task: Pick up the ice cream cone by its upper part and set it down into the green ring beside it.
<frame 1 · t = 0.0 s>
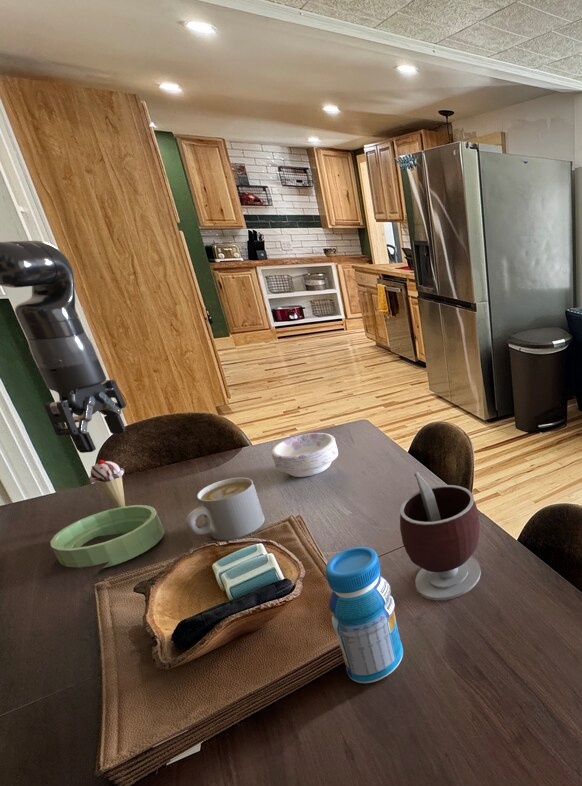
hand: (104, 441, 91), 25 cm above the table, tool pointing down, fingers open, 8 cm apart
paper bowls: (310, 469, 132), on the table
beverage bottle: (376, 663, 75), on the table
ice cream cone: (126, 517, 111), on the table
coffee mug: (230, 531, 106), on the table
mate gourd: (447, 575, 93), on the table
green ring: (117, 549, 100), on the table
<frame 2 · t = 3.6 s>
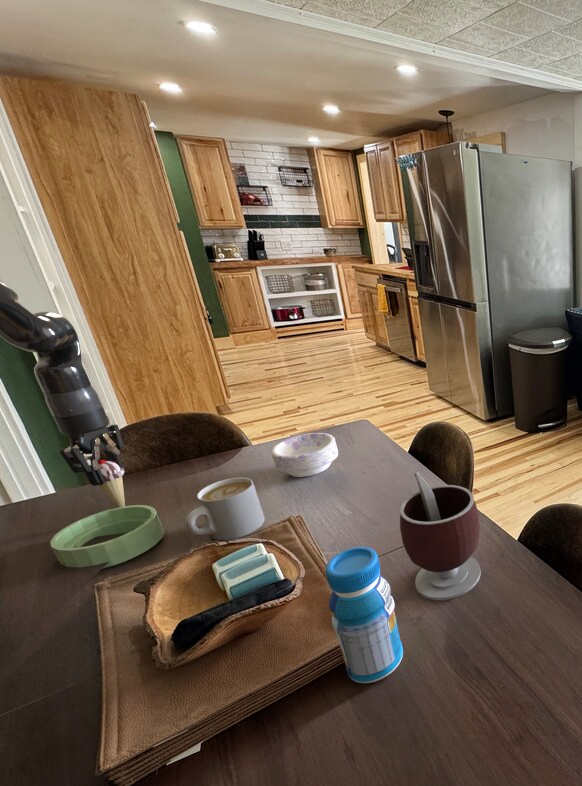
hand: (108, 477, 107), 11 cm above the table, tool pointing down, fingers closed on ice cream cone, 5 cm apart
ice cream cone: (126, 517, 111), on the table, touching gripper
everything else where it was.
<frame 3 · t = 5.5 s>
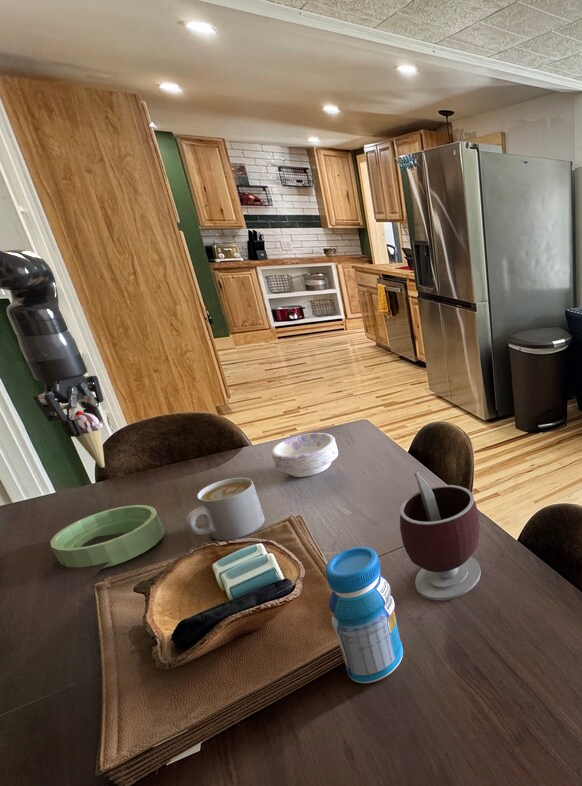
hand: (86, 429, 102), 22 cm above the table, tool pointing down, fingers closed on ice cream cone, 5 cm apart
ice cream cone: (105, 473, 106), point 12 cm above the table, touching gripper
everything else where it was.
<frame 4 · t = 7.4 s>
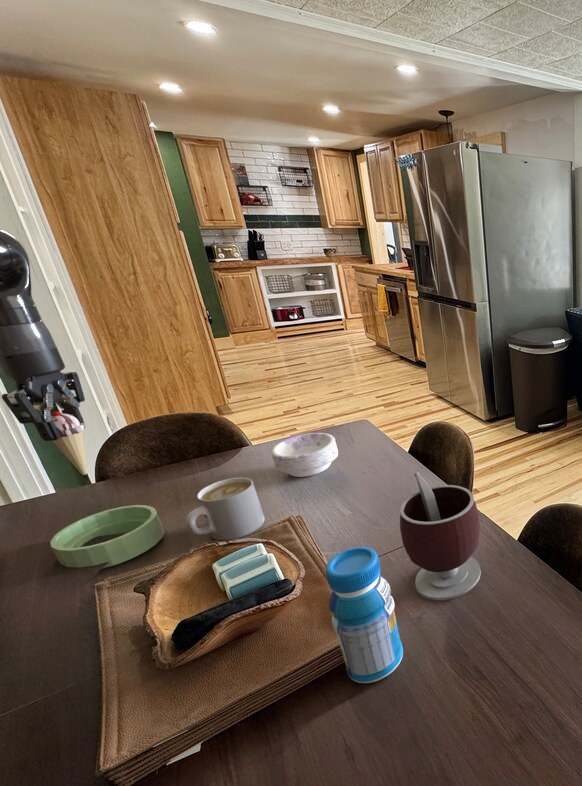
hand: (65, 432, 91), 26 cm above the table, tool pointing down, fingers closed on ice cream cone, 5 cm apart
ice cream cone: (88, 481, 95), point 16 cm above the table, touching gripper
everything else where it was.
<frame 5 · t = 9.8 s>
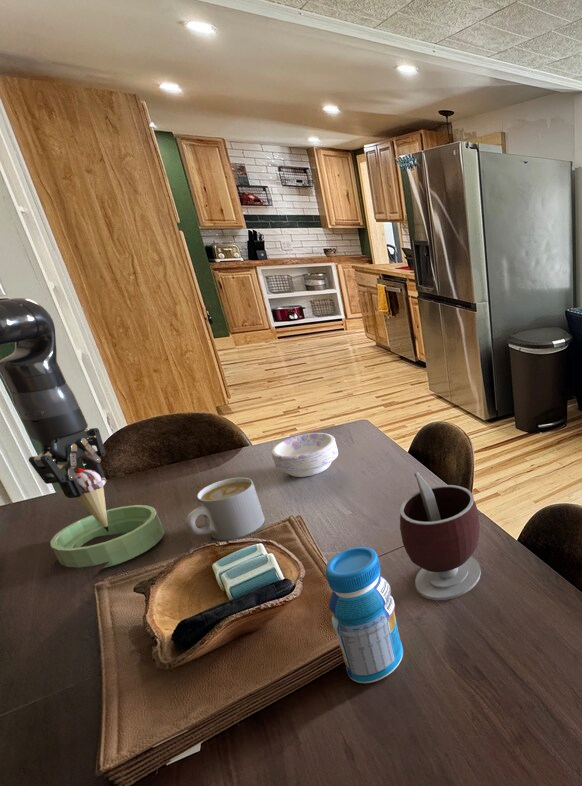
hand: (87, 488, 94), 15 cm above the table, tool pointing down, fingers closed on ice cream cone, 5 cm apart
ice cream cone: (108, 532, 98), point 4 cm above the table, touching gripper
everything else where it was.
when the fingers open (11 cm above the table, at t = 11.3 s): ice cream cone stays where it is, resting on green ring.
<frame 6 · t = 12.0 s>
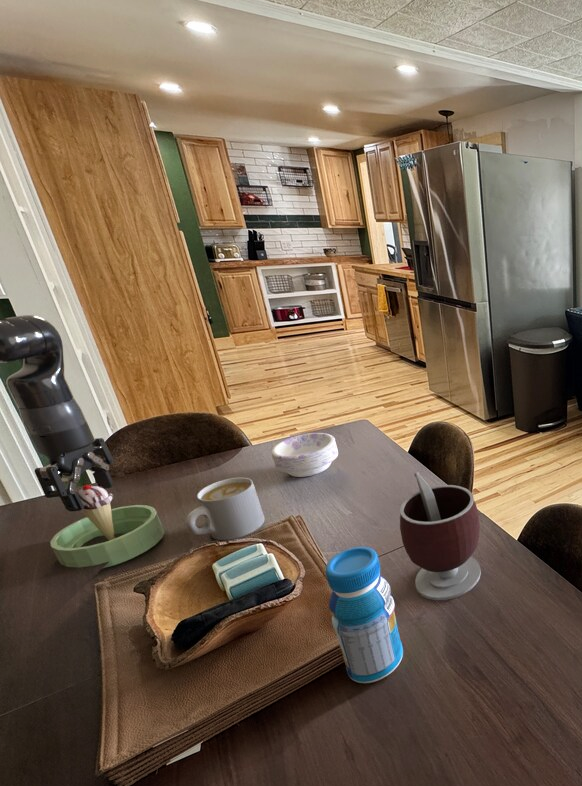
hand: (92, 498, 95), 13 cm above the table, tool pointing down, fingers open, 8 cm apart
ice cream cone: (115, 547, 100), point 1 cm above the table, touching green ring
everything else where it was.
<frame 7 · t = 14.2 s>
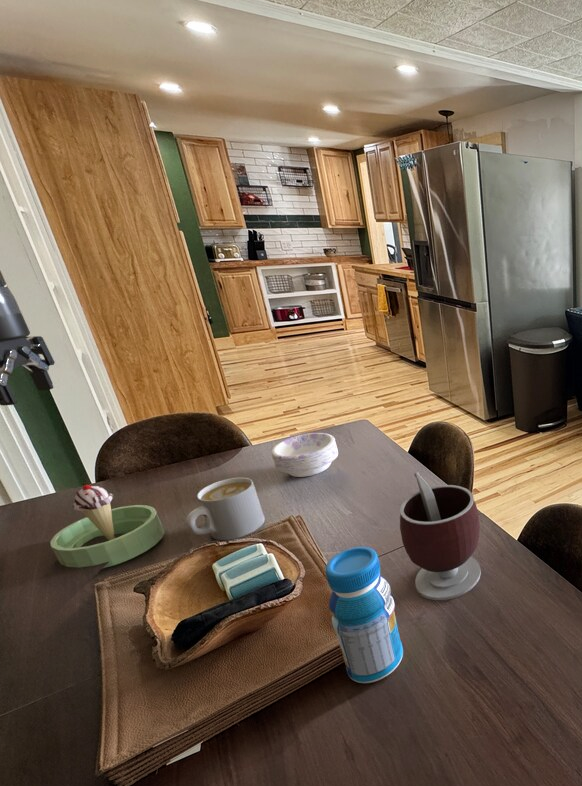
hand: (28, 396, 91), 33 cm above the table, tool pointing down, fingers open, 8 cm apart
nothing on the table moved.
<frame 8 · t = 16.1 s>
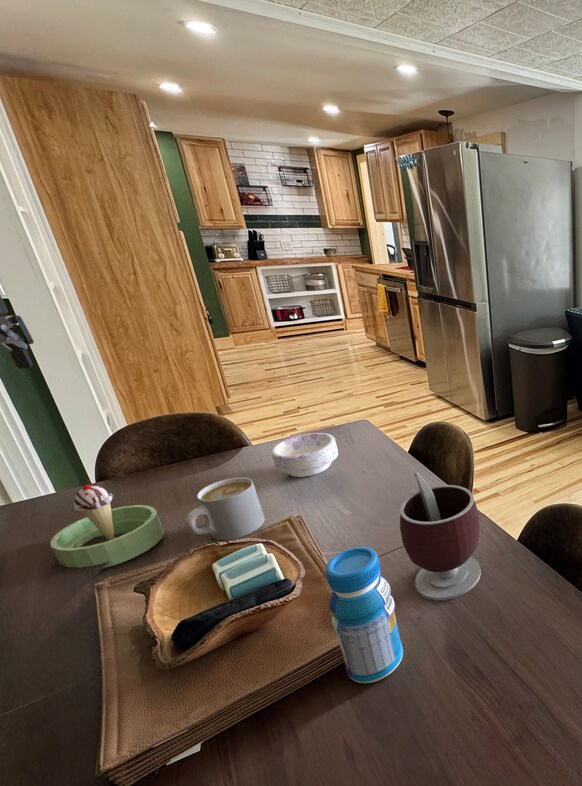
hand: (7, 374, 94), 36 cm above the table, tool pointing down, fingers open, 8 cm apart
nothing on the table moved.
at the end: ice cream cone inside the target area in the green ring (0.1 cm from its centre), point 0.6 cm above the green ring's base; the gripper is holding nothing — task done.
